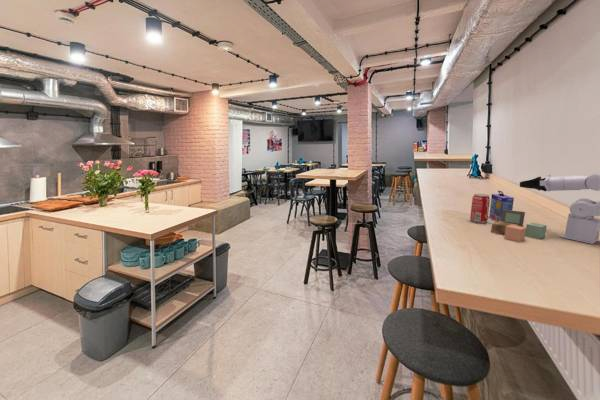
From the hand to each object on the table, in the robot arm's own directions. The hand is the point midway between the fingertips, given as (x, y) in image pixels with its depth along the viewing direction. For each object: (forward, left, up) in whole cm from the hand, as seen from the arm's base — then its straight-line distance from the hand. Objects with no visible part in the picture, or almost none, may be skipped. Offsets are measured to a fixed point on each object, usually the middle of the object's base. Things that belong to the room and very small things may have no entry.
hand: (522, 184), depth 126 cm
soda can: (+14, +4, -19) cm, 24 cm away
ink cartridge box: (+10, -8, -19) cm, 23 cm away
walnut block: (-1, +14, -19) cm, 24 cm away
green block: (-10, +9, -19) cm, 23 cm away
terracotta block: (-7, +20, -19) cm, 28 cm away
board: (+1, +2, -19) cm, 19 cm away
